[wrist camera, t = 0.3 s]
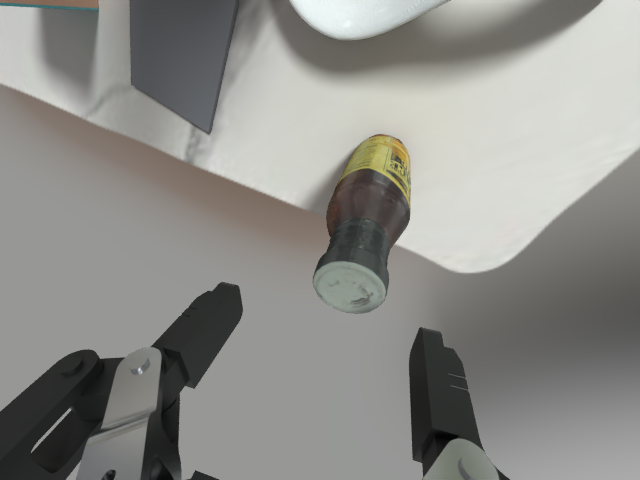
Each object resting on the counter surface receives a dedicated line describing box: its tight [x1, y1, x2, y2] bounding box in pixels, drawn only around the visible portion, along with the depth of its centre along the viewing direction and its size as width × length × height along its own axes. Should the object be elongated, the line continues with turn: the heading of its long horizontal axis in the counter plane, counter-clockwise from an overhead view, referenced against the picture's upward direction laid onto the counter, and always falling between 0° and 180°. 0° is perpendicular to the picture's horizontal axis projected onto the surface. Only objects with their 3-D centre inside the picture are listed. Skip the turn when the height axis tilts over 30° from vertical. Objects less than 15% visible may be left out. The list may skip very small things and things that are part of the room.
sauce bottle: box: [313, 134, 411, 314], centre depth 21 cm, size 6×6×20 cm
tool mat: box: [130, 0, 239, 133], centre depth 25 cm, size 18×10×1 cm, turn 151°
